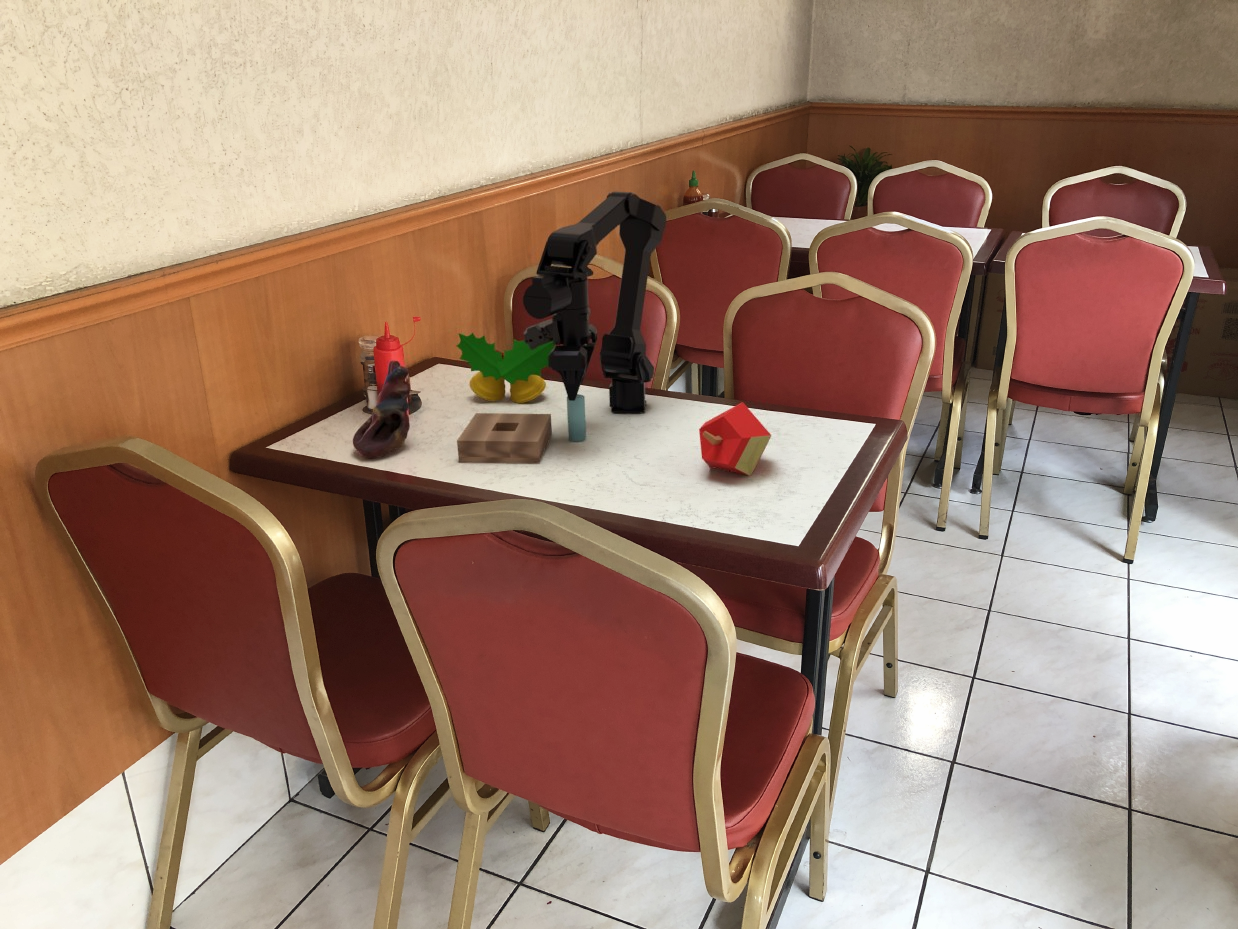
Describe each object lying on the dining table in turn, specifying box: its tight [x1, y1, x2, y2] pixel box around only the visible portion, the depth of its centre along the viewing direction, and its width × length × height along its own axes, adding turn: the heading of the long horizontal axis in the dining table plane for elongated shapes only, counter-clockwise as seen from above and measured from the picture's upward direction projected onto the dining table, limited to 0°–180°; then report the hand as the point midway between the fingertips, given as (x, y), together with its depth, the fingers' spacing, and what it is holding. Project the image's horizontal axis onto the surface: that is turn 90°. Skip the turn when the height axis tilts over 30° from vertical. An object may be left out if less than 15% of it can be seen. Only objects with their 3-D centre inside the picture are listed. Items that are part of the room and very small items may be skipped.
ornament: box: [455, 332, 556, 404], centre depth 195 cm, size 21×8×15 cm, turn 84°
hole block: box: [456, 412, 553, 465], centre depth 172 cm, size 14×14×4 cm
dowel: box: [566, 393, 587, 443], centre depth 175 cm, size 3×3×8 cm
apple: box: [698, 401, 772, 477], centre depth 159 cm, size 12×12×15 cm
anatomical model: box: [352, 360, 411, 459], centre depth 171 cm, size 9×13×15 cm
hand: (575, 391), depth 173 cm, fingers open, 9 cm apart
